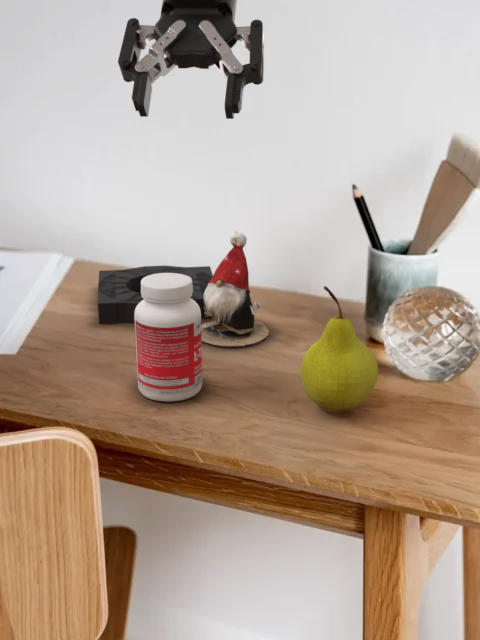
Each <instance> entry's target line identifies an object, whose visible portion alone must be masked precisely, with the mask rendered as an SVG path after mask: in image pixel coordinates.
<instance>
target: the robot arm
mask: <svg viewBox="0 0 480 640" xmlns="http://www.w3.org/2000/svg"><path fill="white" fill-rule="evenodd" d="M237 1H238V0H162V3H161V9H160V16H159V19H158V20H157V21H156V23H155V24H154V25H148V24H140V21H139V19H138V18H136V17H131V18H129V19H128V20H127V22H126V26H125V32H124V34H123V37H122V38H123V39H122V43H121V47H120V51H119V55H118V59H117V63H118V66H119V71H120V73H121V76H122V80H123V81H124V82H126V83H131V82H133V87H132V93H131V100H132V103H133V106H134V110H135V112H138V114H139V117H145V118H148V117H149V114H150V106H151V100H152V93H153V84H154V83H155V82H156V81H157V80H158V79H159V78H160V77H166V76H167V75H168V74H169V73H170V72H171V71H172V70H174V69H175V67H177V69H190V68H191V69H192V68H196V69H201V70H210V67H212V66H214V67H215V68H216V70H217V72H218V73H220V75H221V76H222V78H225V79H226V88H225V98H224V113H225V119H226V120H227V119H228V120H229V119H230V120H234V119H235V114H240V112H241V110H242V106H243V105H242V104H243V97H244V89H245V87H246V86H247V85H250V84H253V85H256V86H258V85H261V84H262V83H264V73H265V71H264V70H265V69H264V68H265V64H264V63H265V36H264V26H263V25H264V24H263V21H261V19H254V20H252V21H251V22H250V24H249V25H250V26H249V25H248V26H237V25H236V23H235V22H236V21H235V20H236V11H237ZM152 40H154V41H155V42H154V43H152V44H151V45H150V46H149V48H148V52H147V53H146V54H145V55H144V56H143V57H142V58H141V59H140V57H141V53H142V51H144V50H146V49H147V46H148V45H149V42H150V41H152ZM238 41H239V42H241V43H242V44H243V47H244V48H245V49H246V50H247V52H249V63H246V64H245V63H244V64H242V63H241V62H240V61H239V59H238V58H237V57H236V56H235V54H234V53H233V51H232V48H234V46H235V45H237V43H238Z"/></svg>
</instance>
